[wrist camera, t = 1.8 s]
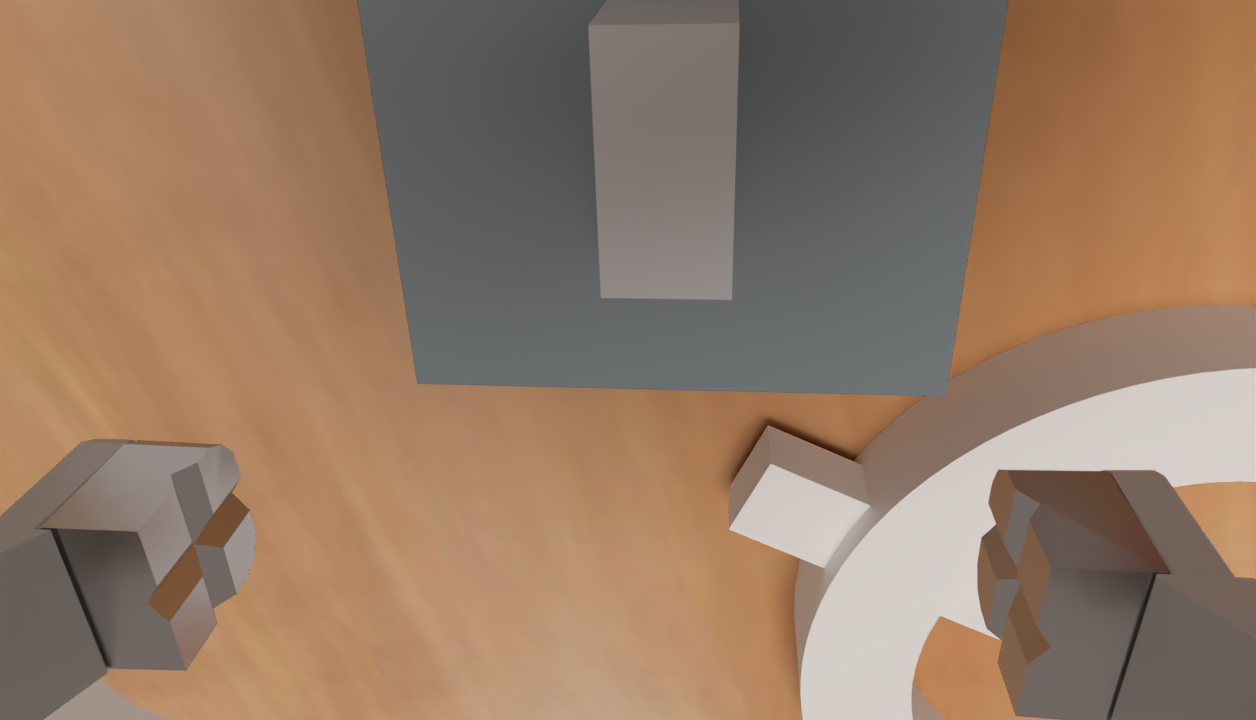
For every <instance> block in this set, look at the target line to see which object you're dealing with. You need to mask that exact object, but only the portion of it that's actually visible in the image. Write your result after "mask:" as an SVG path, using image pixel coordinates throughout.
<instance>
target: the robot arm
mask: <svg viewBox="0 0 1256 720" xmlns="http://www.w3.org/2000/svg"><path fill="white" fill-rule="evenodd" d="M240 478H241V476H240V473H239V470H238V466H237V463H236V460H235V457H234V454H233V452H232V451H230V450H229V449H227V448H226V447H224V446H223V445H222V444H203V443H184V442H165V441H145V440H138V441H134V440H124V439H93V440H88V441H84V442H81V443H80V444H79V445H78V446H77V447H75V448H74V449H73V450H72V451H71V452H70V453H69V454H68V455H67V456H66V457H64V458H63V459H62V460H61V461H60V462H59V463H58V464H57V465H56V466H55V467H54V468H52V469H51V470H50V471H49V472H48V473H47V474H46V475H45V476H44V477H43V478H42V479H40V480H39V481H38V482H37V483H36V484H35V485H34V486H33V487H32V488H31V489H30V490H28V491H27V492H26V493H25V494H24V495H23V496H22V497H21V498H20V499H19V500H17V501H16V502H15V503H14V504H13V505H12V506H11V507H10V508H9V509H8V510H7V511H5V512H4V513H3V514H2V515H1V516H0V720H43V719H45V718H46V717H47V716H49V715H50V714H52V713H53V712H54V711H56V710H57V709H58V708H60V707H61V706H62V705H64V704H65V703H67V702H68V701H69V700H71V699H72V698H74V697H75V696H76V695H78V694H79V693H81V692H82V691H83V690H85V689H86V688H87V687H89V686H90V685H92V684H93V683H94V682H96V681H97V680H98V679H100V678H101V677H103V676H104V675H105V674H107V672H108V670H107V669H146V670H185V671H186V670H187V669H188V667H189V666H190V664H191V663H192V661H193V660H194V658H195V657H196V655H197V654H198V652H199V651H200V649H201V648H202V646H203V645H204V643H205V641H206V640H207V638H208V637H209V635H210V634H211V632H212V631H213V629H214V628H215V626H216V625H217V621H216V617H215V613H214V609H213V608H214V607H216V606H218V605H219V604H221V603H223V602H224V601H226V600H227V599H229V598H231V597H232V596H234V595H236V594H237V593H238V591H239V589H240V588H241V586H242V585H243V583H244V581H245V580H246V578H247V576H248V575H249V571H250V568H251V564H252V560H253V556H254V552H255V528H254V524H253V520H252V516H251V512H250V510H249V509H248V508H247V507H246V506H245V505H244V504H243V503H242V502H241V501H240V500H239V499H238V498H237V497H236V496H235V495H234V494H233V493H232V492H233V491H234V489H235V487H236V485H237V483H238V482H239V480H240ZM988 504H989V506H990V509H991V511H992V514H993V517H994V519H995V522H996V525H995V526H994V527H993V528H992V529H990V530H989V531H988V532H987V533H986V534H985V535H984V536H983V537H981V543H980V550H979V556H978V563H977V590H978V596H979V602H980V608H981V612H982V615H983V618H984V622H985V625H986V628H987V629H988V630H989V631H990V632H992V633H993V634H994V635H995V636H996V637H998V638H999V639H1000V640H1001V641H1002V644H1001V649H1000V654H999V659H998V665H999V668H1000V671H1001V674H1002V677H1003V680H1004V683H1005V685H1006V688H1007V691H1008V694H1009V697H1010V700H1011V703H1012V706H1013V709H1014V712H1015V715H1016V716H1023V717H1035V718H1048V719H1060V720H1256V580H1255V579H1253V578H1239V577H1235V575H1234V574H1233V573H1232V571H1231V570H1230V568H1229V567H1228V565H1227V564H1226V563H1225V561H1224V560H1223V558H1222V557H1221V556H1220V554H1219V553H1218V551H1217V550H1216V548H1215V547H1214V546H1213V544H1212V543H1211V541H1210V540H1209V538H1208V537H1207V536H1206V534H1205V533H1204V531H1203V530H1202V528H1201V527H1200V526H1199V524H1198V523H1197V521H1196V520H1195V518H1194V517H1193V516H1192V514H1191V513H1190V511H1189V510H1188V508H1187V507H1186V506H1185V504H1184V503H1183V501H1182V500H1181V498H1180V497H1179V496H1178V494H1177V493H1176V491H1175V490H1174V488H1173V487H1172V486H1171V484H1170V483H1169V481H1168V480H1167V478H1166V477H1165V476H1164V475H1162V474H1160V473H1159V472H1157V471H1155V470H1102V471H1060V470H998V471H997V473H996V475H995V478H994V480H993V482H992V486H991V491H990V496H989V501H988Z"/></svg>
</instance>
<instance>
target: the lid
mask: <svg viewBox="0 0 1256 720" xmlns="http://www.w3.org/2000/svg"><path fill="white" fill-rule="evenodd" d="M357 3H358V9H359V15H360V22H361V28H362V35H363V41H364V47H365V54H366V60H367V66H368V73H369V79H370V86H371V92H372V98H373V105H374V111H375V117H376V124H377V130H378V137H379V143H380V149H381V156H382V162H383V168H384V175H385V181H386V188H387V194H388V200H389V207H390V213H391V219H392V226H393V232H394V239H395V245H396V251H397V258H398V264H399V270H400V277H401V283H402V290H403V296H404V302H405V309H406V315H407V321H408V328H409V334H410V341H411V347H412V353H413V360H414V366H415V372H416V379H417V384H450V385H491V386H532V387H573V388H614V389H655V390H696V391H737V392H778V393H819V394H861V395H902V396H943V397H946V393H947V387H948V381H949V374H950V368H951V362H952V355H953V349H954V342H955V336H956V330H957V323H958V317H959V311H960V304H961V298H962V292H963V285H964V279H965V272H966V266H967V260H968V253H969V247H970V241H971V234H972V228H973V222H974V215H975V209H976V203H977V196H978V190H979V183H980V177H981V171H982V164H983V158H984V152H985V145H986V139H987V133H988V126H989V120H990V113H991V107H992V101H993V94H994V88H995V82H996V75H997V69H998V63H999V56H1000V50H1001V43H1002V37H1003V31H1004V24H1005V18H1006V12H1007V5H1008V0H357Z"/></svg>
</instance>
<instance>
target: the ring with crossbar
mask: <svg viewBox="0 0 1256 720" xmlns="http://www.w3.org/2000/svg"><path fill="white" fill-rule="evenodd" d="M998 470H1060V471H1102V470H1155V471H1157V472H1159V473H1160V474H1162V475H1164V476H1165V477H1166V478H1167V480H1168V481H1169V483H1170V484H1171V486H1172V487H1177V486H1184V485H1191V484H1201V483H1212V482H1235V481H1247V482H1256V306H1242V305H1202V306H1185V307H1173V308H1164V309H1155V310H1147V311H1141V312H1135V313H1130V314H1124V315H1118V316H1113V317H1109V318H1105V319H1100V320H1096V321H1092V322H1087V323H1084V324H1081V325H1077V326H1074V327H1070V328H1067V329H1063V330H1060V331H1057V332H1054V333H1051V334H1048V335H1045V336H1043V337H1040V338H1037V339H1034V340H1031V341H1029V342H1026V343H1024V344H1021V345H1019V346H1017V347H1014V348H1012V349H1009V350H1007V351H1005V352H1002V353H1000V354H998V355H996V356H994V357H992V358H990V359H988V360H986V361H984V362H982V363H980V364H978V365H976V366H974V367H972V368H970V369H969V370H967V371H965V372H963V373H961V374H960V375H958V376H956V377H954V378H953V379H951V380H949V381H948V387H947V393H946V397H943V396H925V397H924V398H922V399H921V400H919V401H918V402H917V403H915V404H914V405H913V406H911V407H910V408H909V409H907V410H906V411H905V412H904V413H903V414H901V415H900V416H899V417H898V418H896V419H895V420H894V421H893V422H892V423H890V424H889V425H888V426H887V427H886V428H885V429H884V430H883V431H882V432H881V433H880V434H879V435H878V436H876V437H875V438H874V439H873V440H872V441H871V442H870V443H869V444H868V446H867V447H866V448H865V449H864V450H863V451H862V452H861V453H860V454H859V455H858V456H857V457H856V459H855V460H854V461H851V460H849V459H847V458H844V457H842V456H839V455H837V454H835V453H832V452H830V451H828V450H825V449H823V448H821V447H818V446H816V445H814V444H811V443H809V442H807V441H804V440H802V439H799V438H797V437H795V436H792V435H790V434H788V433H785V432H783V431H781V430H778V429H776V428H774V427H771V426H769V425H768V426H767V428H766V429H765V431H764V432H763V434H762V436H761V437H760V439H759V441H758V442H757V444H756V445H755V447H754V449H753V450H752V452H751V453H750V455H749V457H748V458H747V460H746V461H745V463H744V465H743V466H742V468H741V470H740V471H739V473H738V474H737V476H736V478H735V479H734V481H733V482H732V484H731V486H730V487H729V530H731V531H734V532H736V533H739V534H741V535H744V536H746V537H749V538H751V539H754V540H756V541H758V542H761V543H763V544H766V545H768V546H771V547H773V548H776V549H778V550H780V551H783V552H785V553H788V554H790V555H793V556H795V557H798V558H800V562H799V567H798V572H797V577H796V583H795V593H794V624H795V636H796V649H797V661H798V673H799V685H800V697H801V708H802V716H803V720H948V719H947V718H945V717H944V716H943V715H942V714H941V713H940V712H938V711H937V710H936V709H935V708H934V707H933V706H932V705H931V704H930V703H929V702H928V701H927V700H926V698H925V697H924V696H923V695H922V693H921V692H920V691H919V690H918V688H917V687H916V685H915V684H914V682H913V678H914V673H915V668H916V665H917V661H918V658H919V655H920V653H921V650H922V648H923V645H924V643H925V641H926V639H927V637H928V635H929V633H930V631H931V629H932V628H933V626H934V625H935V623H936V621H937V620H938V618H939V617H940V616H942V617H945V618H947V619H949V620H952V621H954V622H957V623H959V624H962V625H964V626H967V627H969V628H971V629H974V630H976V631H979V632H981V633H984V634H986V635H989V636H991V637H994V638H996V639H998V640H1000V639H999V638H998V637H996V636H995V635H994V634H993V633H992V632H990V631H989V630H988V629H987V628H986V625H985V622H984V618H983V615H982V612H981V608H980V602H979V596H978V590H977V563H978V556H979V550H980V543H981V537H983V536H984V535H985V534H986V533H987V532H988V531H989V530H990V529H992V528H993V527H994V526H995V525H996V522H995V519H994V517H993V514H992V511H991V509H990V506H989V504H988V501H989V496H990V491H991V486H992V482H993V480H994V478H995V475H996V473H997V471H998Z"/></svg>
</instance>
